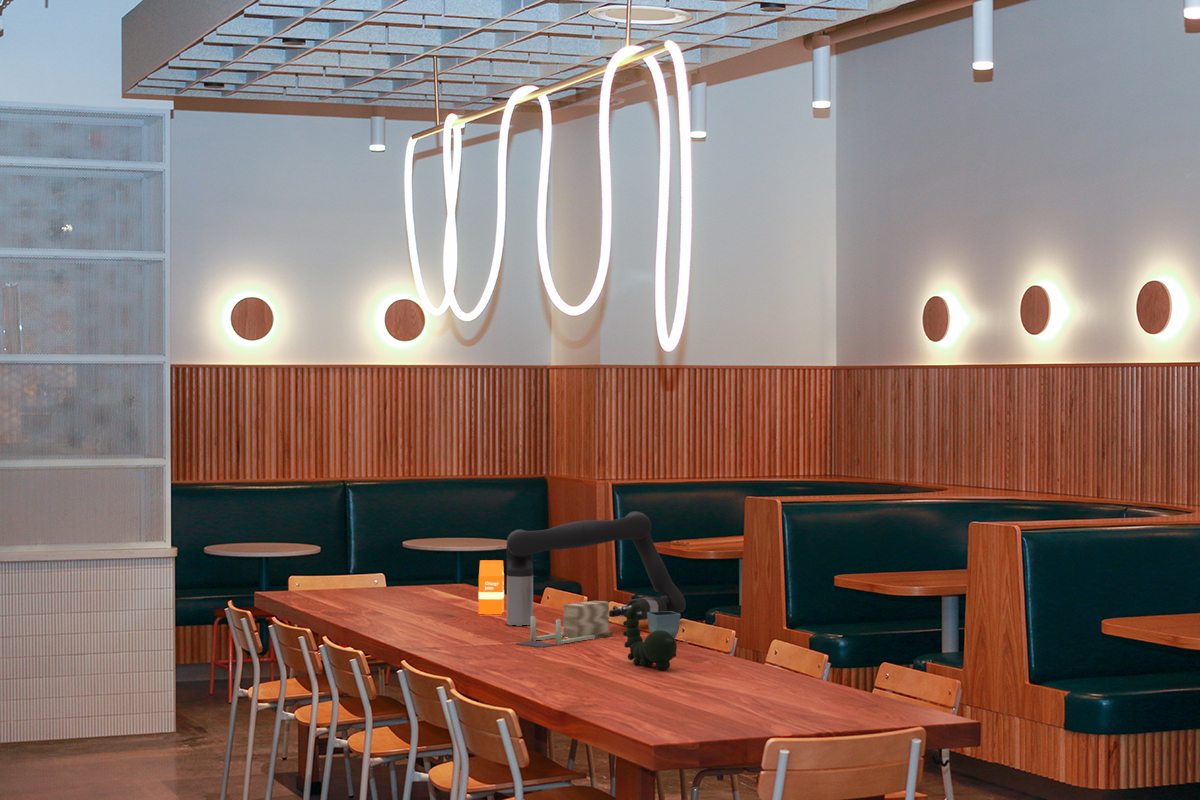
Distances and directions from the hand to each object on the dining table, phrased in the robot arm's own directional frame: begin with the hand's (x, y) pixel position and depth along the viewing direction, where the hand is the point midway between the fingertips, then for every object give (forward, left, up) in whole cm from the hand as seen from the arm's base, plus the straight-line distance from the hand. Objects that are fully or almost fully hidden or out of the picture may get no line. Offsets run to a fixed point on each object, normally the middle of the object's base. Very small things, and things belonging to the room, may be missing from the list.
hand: (610, 613), depth 465 cm
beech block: (+9, -9, -6) cm, 14 cm away
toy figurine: (+69, +6, -7) cm, 70 cm away
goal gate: (+17, -17, -6) cm, 25 cm away
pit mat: (+26, -26, -6) cm, 38 cm away
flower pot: (+20, +16, -6) cm, 26 cm away
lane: (+8, -8, -6) cm, 13 cm away
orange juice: (-49, -40, -6) cm, 64 cm away
